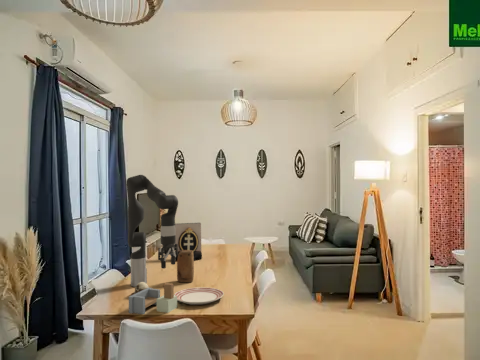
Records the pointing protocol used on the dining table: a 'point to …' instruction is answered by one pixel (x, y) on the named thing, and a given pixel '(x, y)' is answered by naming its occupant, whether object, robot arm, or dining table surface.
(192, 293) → the dinner plate
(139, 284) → the skull
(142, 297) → the board
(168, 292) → the green and brown blocks
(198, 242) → the decorative plaque
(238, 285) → the dining table surface
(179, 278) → the block
